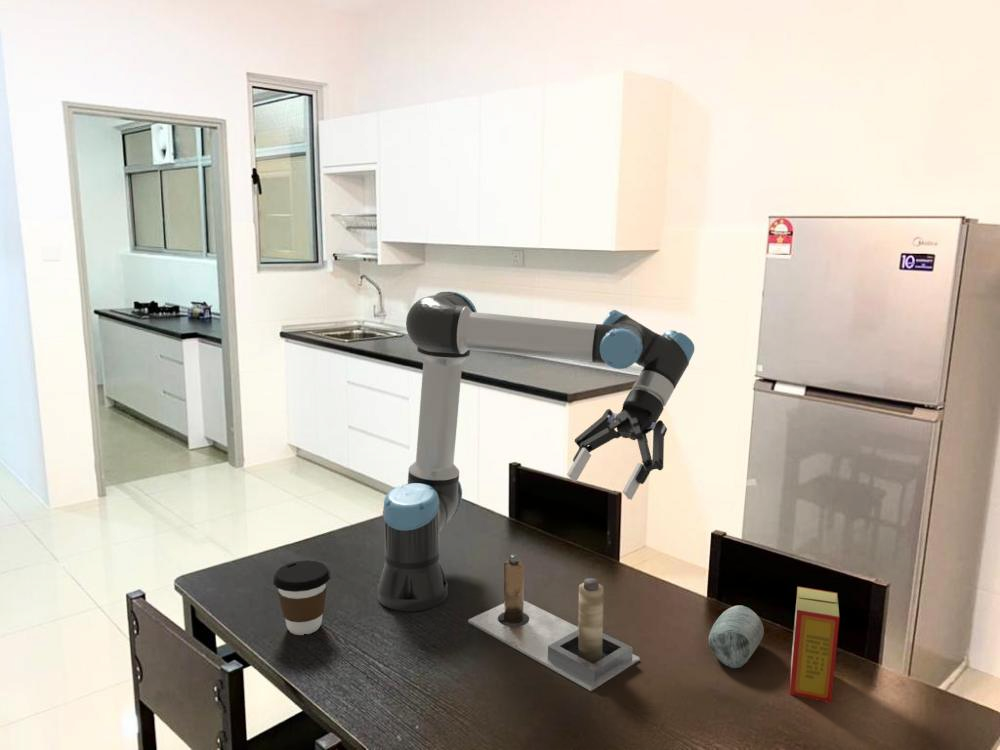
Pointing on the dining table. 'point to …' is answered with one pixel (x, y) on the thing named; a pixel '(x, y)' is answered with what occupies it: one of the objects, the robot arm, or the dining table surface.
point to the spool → (736, 636)
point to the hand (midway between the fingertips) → (598, 486)
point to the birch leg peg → (590, 620)
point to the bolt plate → (548, 635)
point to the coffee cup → (302, 594)
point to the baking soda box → (814, 643)
